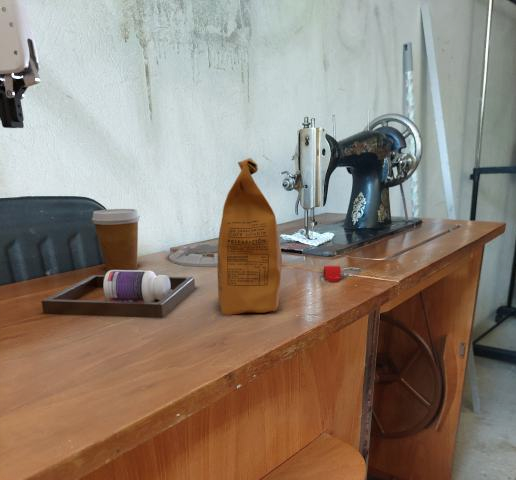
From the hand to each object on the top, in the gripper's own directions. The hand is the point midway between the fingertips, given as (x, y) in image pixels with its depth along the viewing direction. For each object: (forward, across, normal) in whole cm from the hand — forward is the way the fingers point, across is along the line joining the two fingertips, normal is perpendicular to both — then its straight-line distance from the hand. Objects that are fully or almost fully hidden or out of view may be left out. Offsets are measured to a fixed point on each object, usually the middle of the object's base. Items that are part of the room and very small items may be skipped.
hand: (13, 127), depth 80 cm
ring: (+27, +21, +36) cm, 50 cm away
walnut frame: (+27, +16, -2) cm, 32 cm away
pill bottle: (+24, +13, -2) cm, 28 cm away
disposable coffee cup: (+27, +5, +22) cm, 35 cm away
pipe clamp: (+27, +49, +19) cm, 59 cm away
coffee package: (+27, +37, -2) cm, 46 cm away
